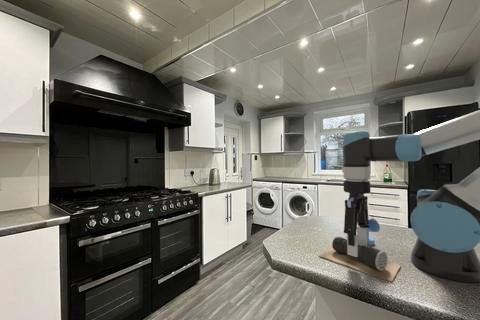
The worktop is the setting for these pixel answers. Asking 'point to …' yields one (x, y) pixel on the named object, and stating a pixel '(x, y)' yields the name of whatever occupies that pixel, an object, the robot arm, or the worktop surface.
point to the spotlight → (372, 230)
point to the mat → (361, 265)
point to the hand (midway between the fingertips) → (357, 251)
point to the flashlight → (363, 254)
